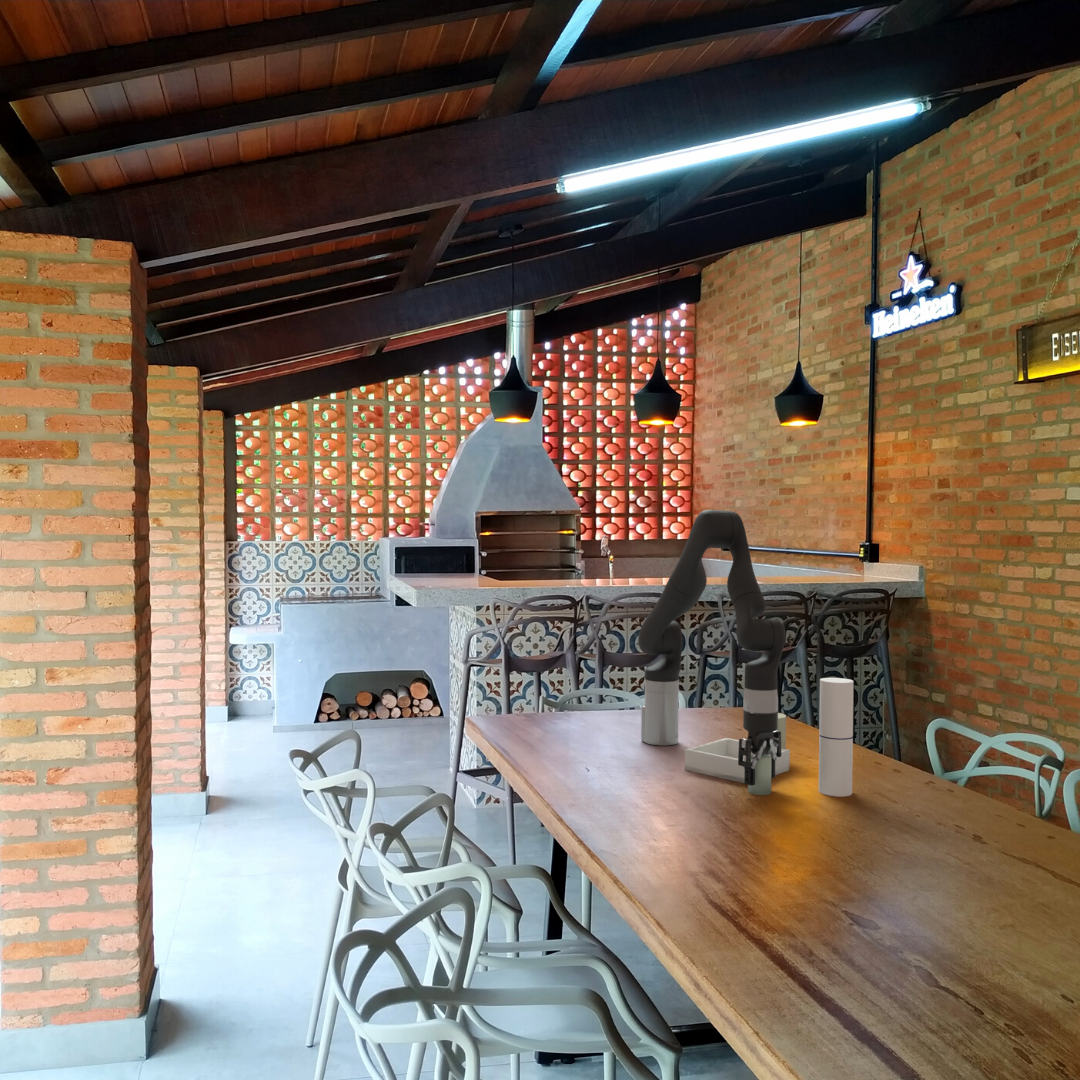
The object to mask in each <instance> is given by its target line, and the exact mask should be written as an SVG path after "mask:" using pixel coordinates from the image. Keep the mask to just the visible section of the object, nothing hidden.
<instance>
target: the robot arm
mask: <svg viewBox="0 0 1080 1080" xmlns="http://www.w3.org/2000/svg"><path fill="white" fill-rule="evenodd" d="M687 538H688V539H687V541H686V543H685V546H684V549H683V550H682V552H681V555H680V557H679V559H678V561H677V563H676V564H675V567H674V568H673V571H672V572H671V574H670V576H669V579H668V580H667V581H666V585H665V586H664V588H663V590H662V593H661V595H660V596H659V598H658V600H657V602H656V603H655V604H654V607H653V608H652V609H651V611H650V612H649V614H648V615H647V617H646V618H645V619H644V621H643V623H642V625H641V627H640V629H639V633H638V639H637V640H638V643H637V644H638V646H639V649H640V650H641V652H642V653H644V654H645V655H651V656H652V655H653V656H655V655H656V656H657V655H661V657H660V659H659V660H658V661H657V662H656V663H654V664H652V665H649V666H647V668H645V670H644V705H642V706H641V714H640V715H641V717H640V718H641V723H640V724H641V727H640V728H641V730H640V733H641V734H640V737H641V738H640V739H641V742H644V743H645V744H649V745H652V746H654V745H655V746H674V745H677V744H679V716H680V715H679V714H680V713H679V710H680V707H679V705H680V704H679V702H680V701H679V700H680V697H679V695H680V694H679V692H680V691H679V689H680V684H679V683H680V682H679V681H680V671H681V667H682V649H683V633H682V629H681V625H680V624H679V622H677V621H676V620H677V619H678V618H680V617H681V616H683V615H684V614H686V613H687V612H689V611H690V610H691V609H692V608H694V607H695V605H696V604H697V603H698V602H699V600H700V599H701V597H702V594H703V593H704V591H705V589H706V587H707V581H708V580H707V573H706V570H705V567H704V563H703V560H702V559H703V556H704V554H705V553H706V551H707V550H709V549H728V550H729V552H730V554H731V557H732V565H731V568H730V570H729V572H728V576H727V581H726V582H727V583H726V584H727V588H726V589H727V592H728V595H729V598H730V601H731V603H732V605H733V609H734V612H735V620H736V639H737V642H738V644H739V646H740V647H741V648H742V649H744V651H749V652H755V651H756V652H759V651H762V655H761V656H760V657H759V658H757V659H754V660H751V661H749V662H747V663H746V664H745V666H744V692H743V703H742V704H743V709H742V712H743V716H742V717H743V719H742V722H743V724H742V727H743V729H744V730H746V731H747V733H748V734H747V738H744V737H743V738H742V737H740V738H739V739H738V740H739V753H738V765H739V766H743V767H744V769H745V778H744V780H745V783H744V784H745V785H747V786H748V785H750V786H753V785H755V769H754V768H755V765H756V762H757V761H758V760H759V759H760V757H761V755H763V754H766V755H770V756H771V757H772V758H771V779H775V777H776V775H775V761H777V758H778V757H781V732H780V731H777V729H778V713H779V697H778V670H779V665H780V662H781V661H780V660H781V657H782V654H783V652H784V651H783V650H784V648H785V643H786V640H787V639H786V638H787V634H786V629H785V627H784V625H783V623H782V622H781V620H779V619H777V618H758V617H759V616H762V615H763V614H764V612H765V611H766V608H767V605H766V600H765V598H764V595H763V593H762V590H761V588H760V585H759V583H758V581H757V578H756V575H755V571H754V569H753V568H754V567H753V563H752V558H751V551H750V548H749V547H750V546H749V542H748V537H747V533H746V529H745V524H744V522H743V519H742V518H741V516H740V515H739V514H738V512H735V511H731V510H721V509H720V510H719V509H705V510H702V511H700V512H699V513H698V515H697V516H696V518H695V520H694V522H693V524H692V527H691V529H690V532H689V535H688V537H687ZM774 746H776V747H777V751H776V749H775V747H774ZM751 752H752V753H753V754H751ZM743 755H745V758H744V761H743ZM751 759H752V762H751Z"/></svg>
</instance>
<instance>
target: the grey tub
mask: <svg viewBox="0 0 1080 1080" xmlns="http://www.w3.org/2000/svg"><path fill="white" fill-rule="evenodd" d="M775 749H776V751H777V747H775ZM790 752H791V750H790V749H787V748H786V749H783V748H781V757H778V758H777V761H775V776H777V775H781V774H783V773H786V772H788V771H790V761H791V760H790V759H791V758H790V757H791V756H790ZM738 753H739V739H734V738H728V737H725V738H724V737H723V738H722V739H717V740H713V741H711V742H707V743H703V744H700V745H695V746H692V747H690V748H684V770H685V771H686V772H687V771H688V772H693V773H696V774H702V775H706V776H711V777H715V778H720V779H723V780H729V781H734V782H738V783H743V784H745V780H744V778H745V769H744V767H743V766H739V765H738ZM751 754H753V753H752V752H751ZM744 758H745V755H743V761H744Z"/></svg>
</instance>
